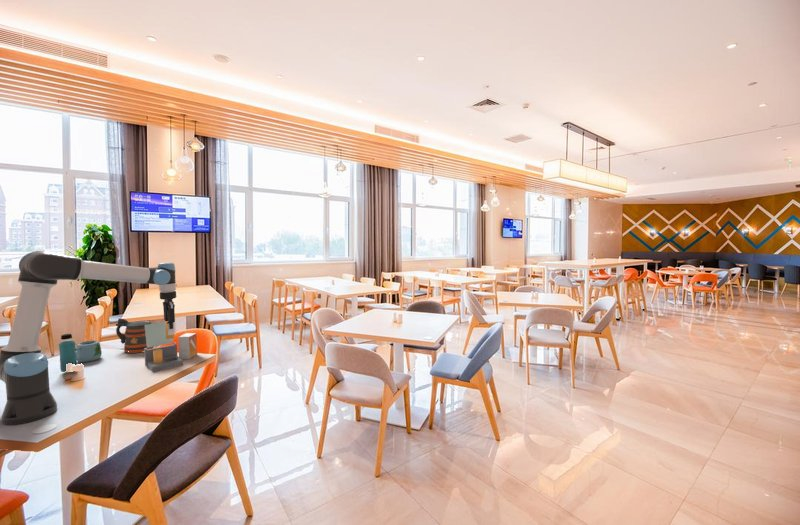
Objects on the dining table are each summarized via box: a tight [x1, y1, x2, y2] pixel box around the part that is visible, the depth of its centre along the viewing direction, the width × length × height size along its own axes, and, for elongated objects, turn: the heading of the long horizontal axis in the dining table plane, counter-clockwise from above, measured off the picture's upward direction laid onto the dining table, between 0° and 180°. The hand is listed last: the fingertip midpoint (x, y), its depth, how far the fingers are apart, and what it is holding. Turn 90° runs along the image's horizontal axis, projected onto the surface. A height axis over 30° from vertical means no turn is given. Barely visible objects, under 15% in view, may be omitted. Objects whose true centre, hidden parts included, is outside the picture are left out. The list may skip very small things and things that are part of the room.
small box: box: [177, 332, 198, 360], centre depth 208 cm, size 8×6×13 cm
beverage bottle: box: [58, 333, 78, 373], centre depth 183 cm, size 6×7×20 cm
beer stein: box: [115, 318, 154, 354], centre depth 220 cm, size 19×15×20 cm
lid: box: [145, 321, 175, 348], centre depth 200 cm, size 12×12×1 cm
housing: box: [143, 342, 184, 372], centre depth 195 cm, size 15×14×10 cm
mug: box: [76, 340, 103, 363], centre depth 201 cm, size 15×11×10 cm
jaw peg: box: [164, 321, 176, 339], centre depth 196 cm, size 4×4×9 cm
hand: (170, 333), depth 196 cm, fingers closed on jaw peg, 3 cm apart
